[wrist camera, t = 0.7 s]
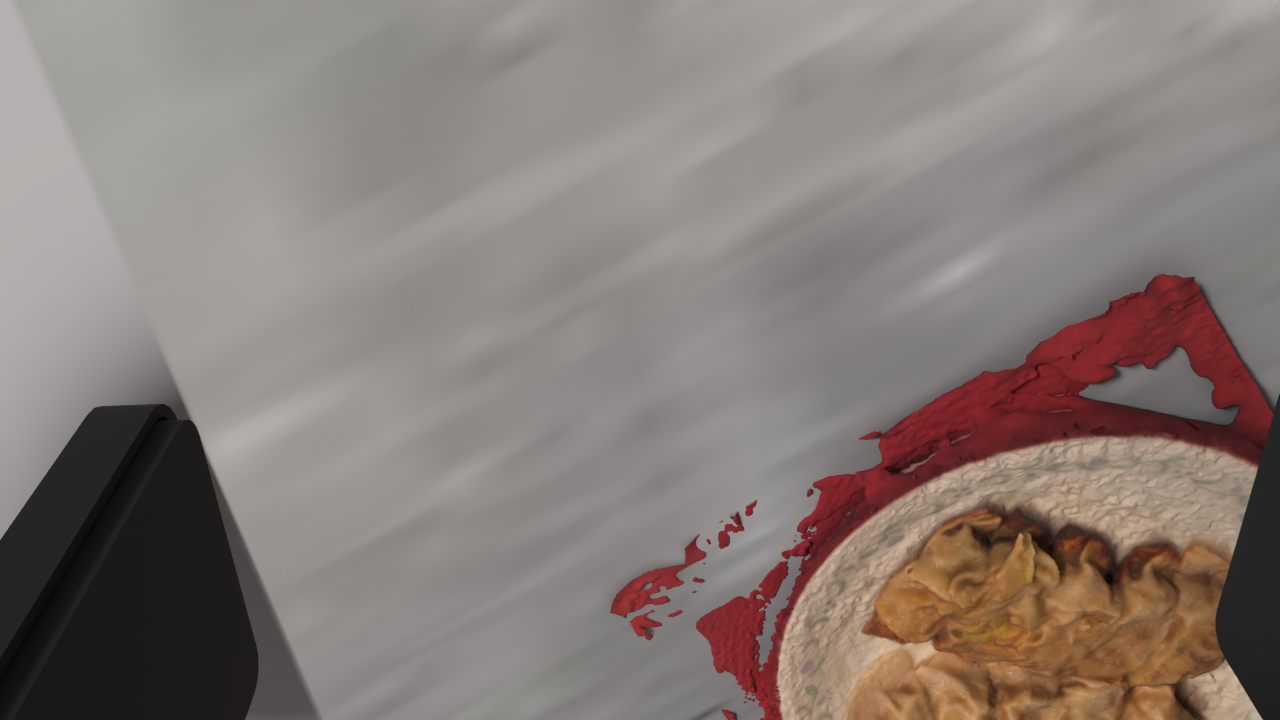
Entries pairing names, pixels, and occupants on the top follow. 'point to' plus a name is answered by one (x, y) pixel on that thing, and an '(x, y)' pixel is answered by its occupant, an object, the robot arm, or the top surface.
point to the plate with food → (1017, 547)
